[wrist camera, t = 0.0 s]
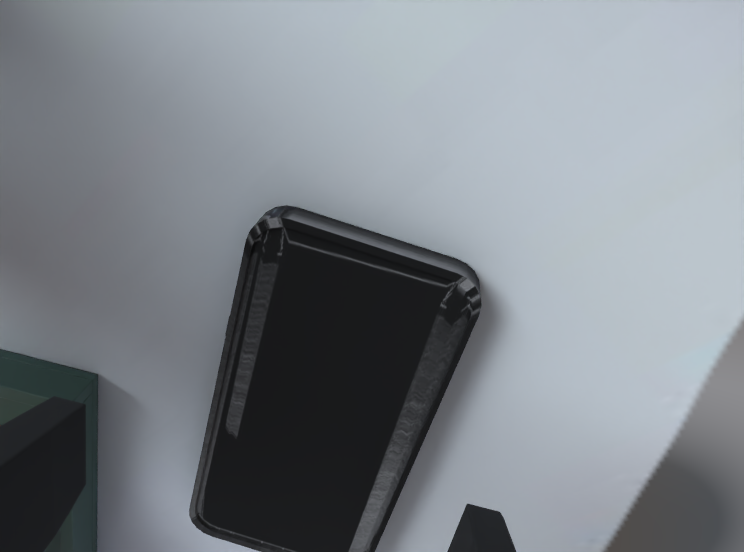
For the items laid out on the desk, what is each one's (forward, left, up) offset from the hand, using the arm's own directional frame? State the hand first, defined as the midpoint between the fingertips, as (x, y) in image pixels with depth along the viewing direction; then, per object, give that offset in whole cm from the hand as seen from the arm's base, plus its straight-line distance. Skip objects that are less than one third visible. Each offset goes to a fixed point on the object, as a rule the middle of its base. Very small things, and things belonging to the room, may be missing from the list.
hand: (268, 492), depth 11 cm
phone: (-6, 0, -10) cm, 12 cm away
